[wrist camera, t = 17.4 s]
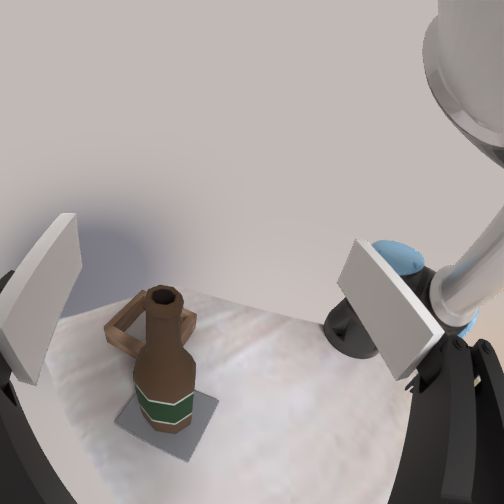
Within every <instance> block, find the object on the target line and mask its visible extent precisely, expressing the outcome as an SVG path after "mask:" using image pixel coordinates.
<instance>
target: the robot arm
mask: <svg viewBox="0 0 504 504" xmlns="http://www.w3.org/2000/svg"><path fill="white" fill-rule="evenodd" d="M423 63H424V69H425V74H426V77H427V81H428V85H429V87H430V89H431V92H432V94H433V96H434V98H435V100H436V101H437V103H438V105H439V106H440V108H441V109H442V111H443V112H444V114H445V115H446V116H447V117H448V119H449V120H450V121H451V122H452V123H453V124H454V126H456V128H458V130H459V131H460V132H461V133H462V134H463V135H464V136H465V137H466V138H467V139H468V140H469V141H470V142H471V143H473V144H474V145H475V146H476V147H477V148H478V149H479V150H480V151H481V152H483V153H484V154H485V155H486V156H488V157H489V158H490V159H491V160H492V161H494V162H495V163H497V164H498V165H499V166H501V167H502V168H504V0H438V16H436V17H435V18H434V19H433V21H432V22H431V23H430V25H429V27H428V29H427V31H426V34H425V37H424V41H423ZM76 220H77V218H76V214H73V213H61V214H60V215H59V216H58V217H57V219H56V220H55V221H54V222H53V223H52V224H51V225H50V227H49V228H48V229H47V230H46V232H45V233H44V234H43V235H42V236H41V238H40V239H39V240H38V241H37V243H36V244H35V245H34V247H33V248H32V249H31V250H30V252H29V253H28V254H27V256H26V257H25V259H24V260H23V261H22V263H21V264H20V265H19V267H18V268H17V270H16V271H12V270H11V271H10V272H8V273H7V274H6V275H5V276H3V277H2V278H1V279H0V504H77V502H76V501H75V500H74V499H73V497H72V496H71V494H70V493H69V492H68V490H67V489H66V487H65V486H64V484H63V483H62V482H61V480H60V479H59V477H58V476H57V474H56V472H55V471H54V469H53V468H52V466H51V464H50V463H49V461H48V459H47V457H46V456H45V454H44V452H43V451H42V449H41V447H40V445H39V443H38V441H37V439H36V437H35V435H34V434H33V431H32V429H31V427H30V425H29V423H28V421H27V419H26V417H25V414H24V412H23V410H22V407H21V405H20V402H19V400H18V397H17V395H16V392H15V390H14V387H13V385H12V383H11V381H10V380H9V378H10V375H11V372H13V373H14V375H15V376H16V378H17V379H18V380H19V381H21V382H24V383H27V384H31V385H34V386H36V385H37V382H38V378H39V375H40V371H41V368H42V365H43V362H44V359H45V356H46V353H47V350H48V347H49V344H50V341H51V339H52V336H53V333H54V330H55V328H56V325H57V323H58V320H59V318H60V315H61V313H62V310H63V308H64V306H65V303H66V301H67V299H68V296H69V294H70V292H71V290H72V288H73V285H74V283H75V281H76V279H77V277H78V275H79V273H80V271H81V269H82V260H81V253H80V246H79V238H78V229H77V221H76ZM337 284H338V285H339V287H340V288H341V290H342V291H343V293H344V295H345V296H346V297H345V298H344V299H343V300H342V301H341V302H340V303H339V304H338V305H337V306H336V307H335V308H334V309H332V310H331V312H330V313H329V315H328V316H327V318H326V320H325V323H324V331H325V334H326V336H327V338H328V340H329V341H330V343H331V344H332V345H333V346H334V347H335V348H336V349H338V350H339V351H341V352H342V353H344V354H346V355H348V356H350V357H354V358H359V359H367V358H371V357H374V356H375V355H377V354H378V352H380V354H381V356H382V357H383V359H384V361H385V363H386V364H387V366H388V368H389V370H390V371H391V373H392V375H393V377H394V379H395V380H396V381H397V380H400V379H404V378H407V377H409V375H410V374H411V373H412V372H413V371H414V370H415V369H417V370H418V372H419V373H418V374H417V375H416V376H415V377H414V378H413V379H412V381H411V382H410V383H409V384H408V385H407V386H406V388H405V390H406V391H407V390H408V389H409V388H410V387H411V386H414V387H413V388H412V389H411V390H410V391H409V392H411V393H413V395H412V403H411V410H410V416H409V422H408V427H407V433H406V438H405V443H404V447H403V452H402V456H401V460H400V464H399V468H398V471H397V475H396V478H395V482H394V485H393V488H392V492H391V495H390V498H389V501H388V504H504V373H503V371H502V368H501V365H500V363H499V360H498V358H497V355H496V353H495V351H494V349H493V347H492V346H491V344H490V343H489V342H488V341H486V340H484V339H479V340H478V341H477V342H476V344H475V345H474V346H473V347H470V346H468V344H467V343H466V342H465V341H464V340H463V339H462V338H463V337H464V336H466V333H467V332H469V331H470V330H471V328H472V327H473V325H474V323H475V321H476V318H477V315H478V312H479V307H480V306H481V305H483V304H485V303H486V302H488V301H489V300H491V299H492V298H494V297H495V296H496V295H498V294H499V293H501V292H502V291H504V206H503V207H502V209H501V210H500V211H499V213H498V214H497V215H496V217H495V218H494V219H493V221H492V222H491V223H490V224H489V226H488V227H487V228H486V229H485V231H484V232H483V233H482V234H481V236H480V237H479V238H478V239H477V240H476V242H475V243H474V244H473V245H472V246H471V247H470V248H469V250H468V251H467V252H466V253H465V254H464V255H463V256H462V258H461V259H460V260H459V261H458V262H457V263H456V264H455V265H453V266H452V265H450V266H445V267H443V268H441V269H440V270H439V271H438V272H435V271H433V270H431V269H430V268H427V267H426V266H424V258H423V256H422V255H421V254H420V253H419V252H417V251H415V249H413V248H411V247H409V246H407V245H405V244H402V243H399V242H395V241H387V240H382V241H377V242H375V243H373V244H372V245H371V244H370V243H369V242H368V241H366V240H358V239H355V241H354V244H353V246H352V249H351V251H350V254H349V256H348V258H347V261H346V263H345V265H344V268H343V270H342V272H341V275H340V277H339V279H338V282H337ZM478 376H480V380H481V381H480V382H479V383H478V384H477V385H476V386H475V387H474V380H475V379H476V378H477V377H478Z"/></svg>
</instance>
